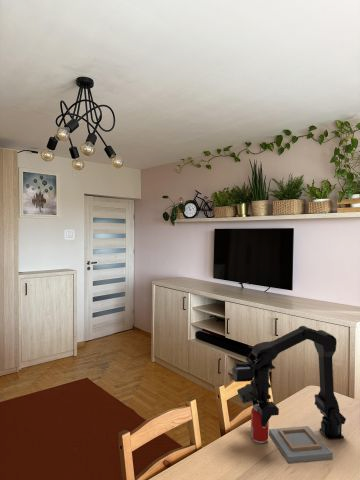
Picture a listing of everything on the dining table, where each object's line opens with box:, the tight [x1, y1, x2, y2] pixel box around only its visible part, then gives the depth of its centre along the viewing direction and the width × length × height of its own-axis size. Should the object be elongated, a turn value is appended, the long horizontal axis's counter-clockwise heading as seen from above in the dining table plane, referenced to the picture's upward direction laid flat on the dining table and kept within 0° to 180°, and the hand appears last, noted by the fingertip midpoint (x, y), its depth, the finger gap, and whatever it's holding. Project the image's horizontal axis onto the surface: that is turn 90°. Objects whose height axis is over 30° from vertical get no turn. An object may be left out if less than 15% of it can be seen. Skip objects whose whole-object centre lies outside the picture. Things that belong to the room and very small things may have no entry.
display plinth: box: [268, 425, 333, 464], centre depth 124 cm, size 16×16×3 cm
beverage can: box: [250, 404, 270, 444], centre depth 127 cm, size 6×6×12 cm
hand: (260, 421), depth 127 cm, fingers closed on beverage can, 6 cm apart
